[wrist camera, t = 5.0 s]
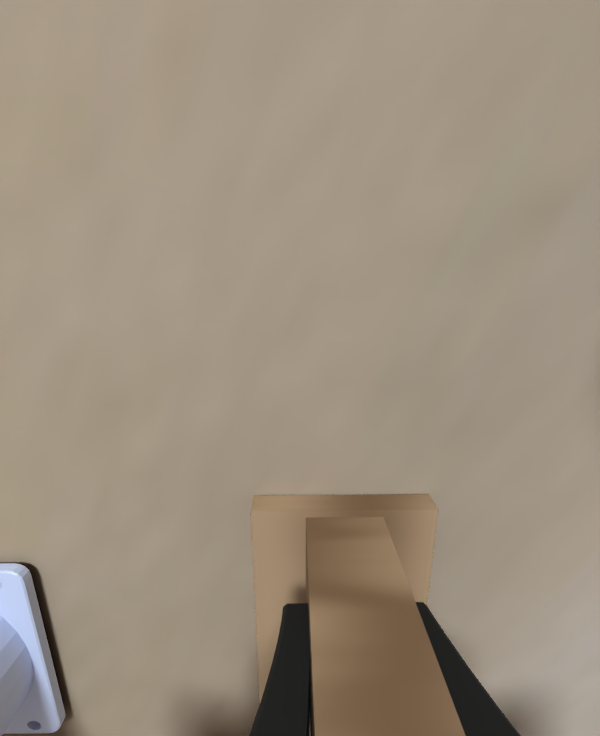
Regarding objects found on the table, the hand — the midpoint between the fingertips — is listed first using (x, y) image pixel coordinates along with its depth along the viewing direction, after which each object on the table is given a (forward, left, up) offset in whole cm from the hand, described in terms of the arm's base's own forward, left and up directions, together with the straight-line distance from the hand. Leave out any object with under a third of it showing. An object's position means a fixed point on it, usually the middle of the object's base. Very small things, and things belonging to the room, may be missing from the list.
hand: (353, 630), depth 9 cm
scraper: (0, -9, -3) cm, 9 cm away
